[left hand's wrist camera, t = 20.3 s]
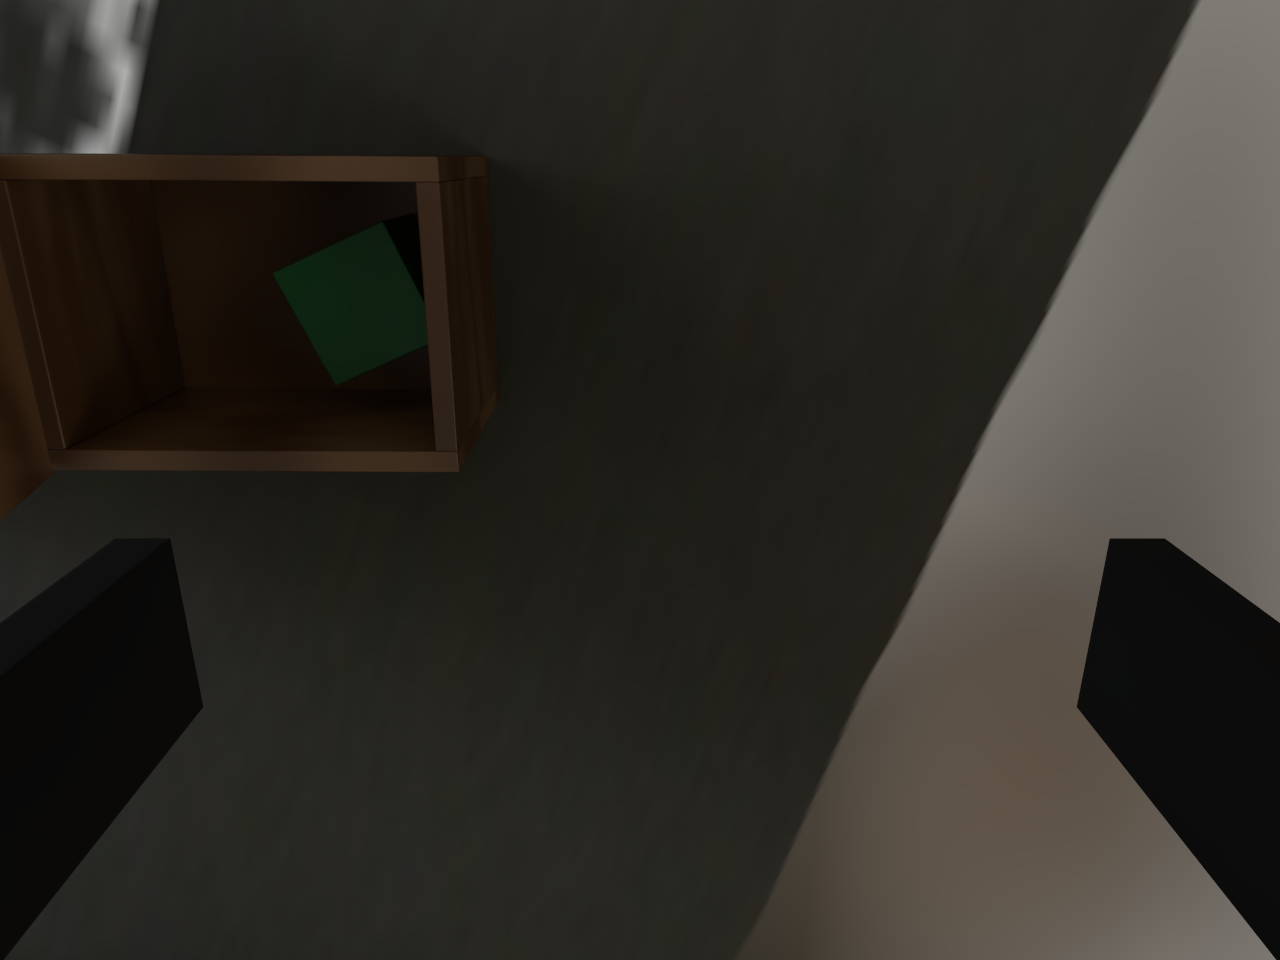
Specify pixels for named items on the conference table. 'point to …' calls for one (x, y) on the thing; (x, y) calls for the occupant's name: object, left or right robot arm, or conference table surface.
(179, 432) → the chest
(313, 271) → the block
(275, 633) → the conference table surface
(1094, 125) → the conference table surface
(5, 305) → the lid
